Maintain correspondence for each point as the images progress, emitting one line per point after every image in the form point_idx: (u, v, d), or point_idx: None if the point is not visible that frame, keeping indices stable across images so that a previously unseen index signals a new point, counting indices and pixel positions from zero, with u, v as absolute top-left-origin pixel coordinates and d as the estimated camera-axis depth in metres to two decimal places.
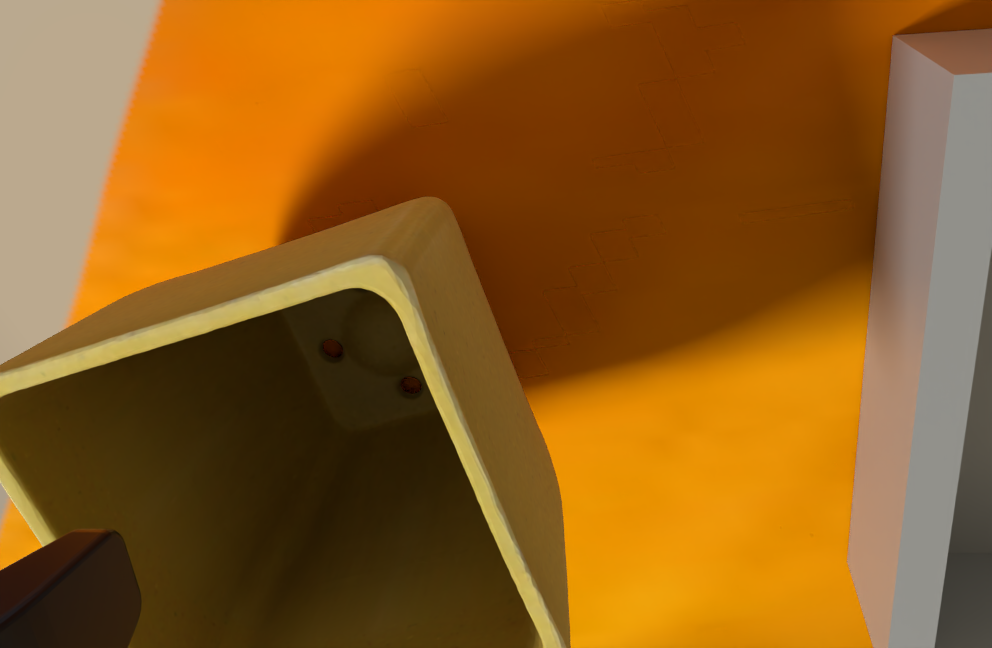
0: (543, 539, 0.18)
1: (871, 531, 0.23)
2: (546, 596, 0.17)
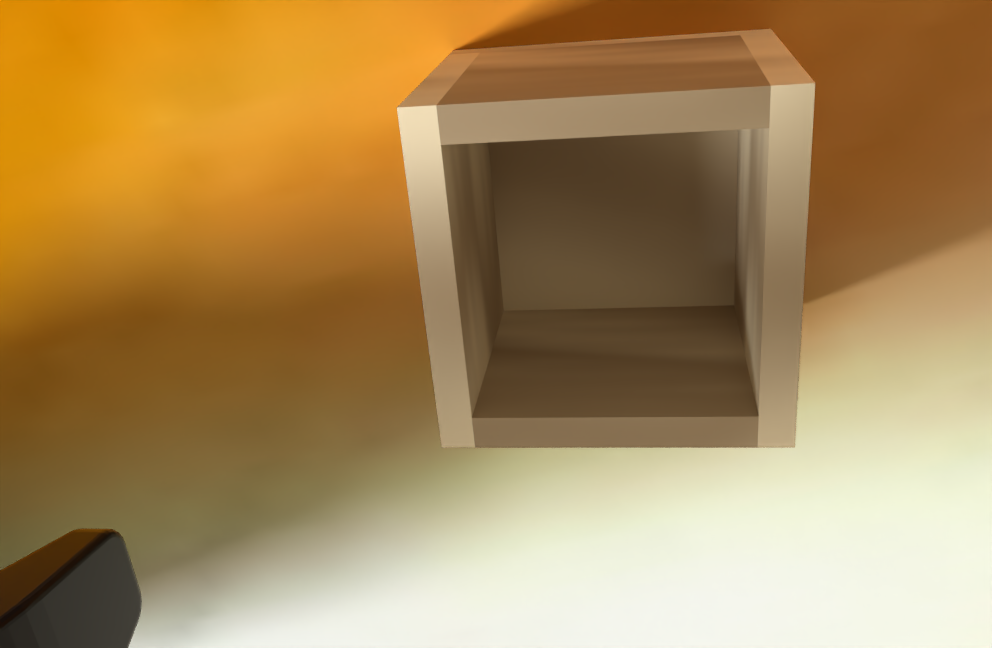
0: None
1: None
2: None
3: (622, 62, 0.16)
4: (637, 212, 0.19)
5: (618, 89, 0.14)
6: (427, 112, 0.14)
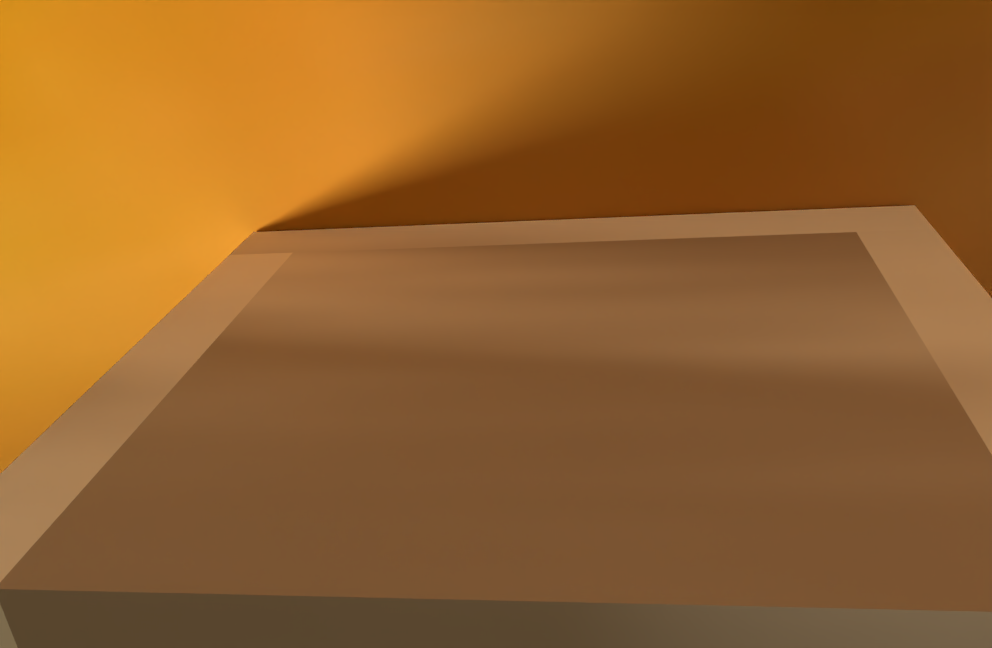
0: None
1: None
2: None
3: (587, 344, 0.06)
4: None
5: (560, 543, 0.04)
6: None
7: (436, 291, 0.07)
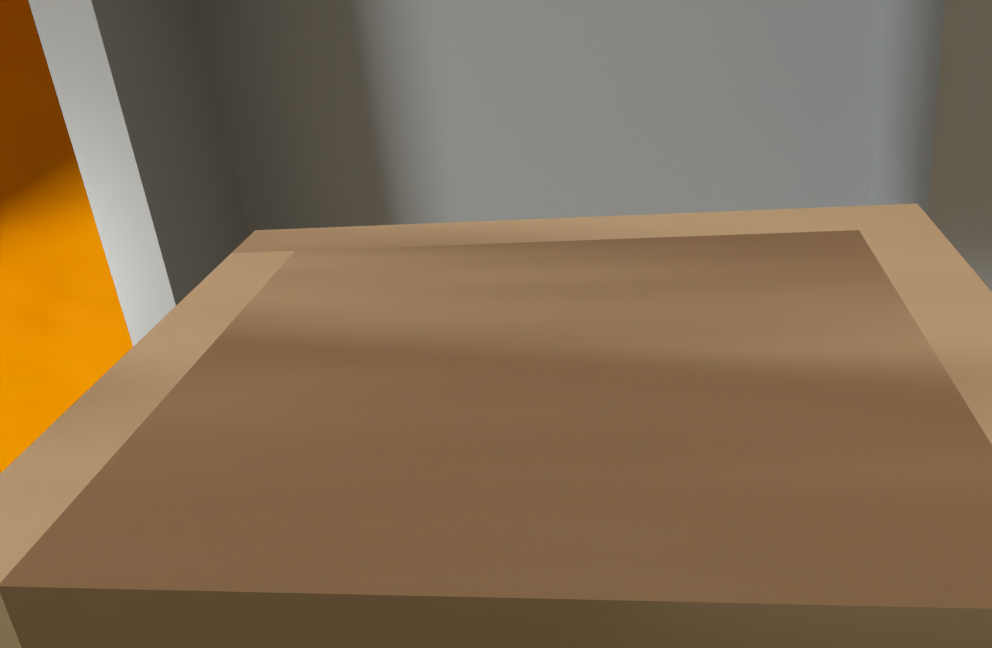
0: None
1: None
2: None
3: (590, 342, 0.06)
4: None
5: (565, 541, 0.04)
6: None
7: (438, 289, 0.07)
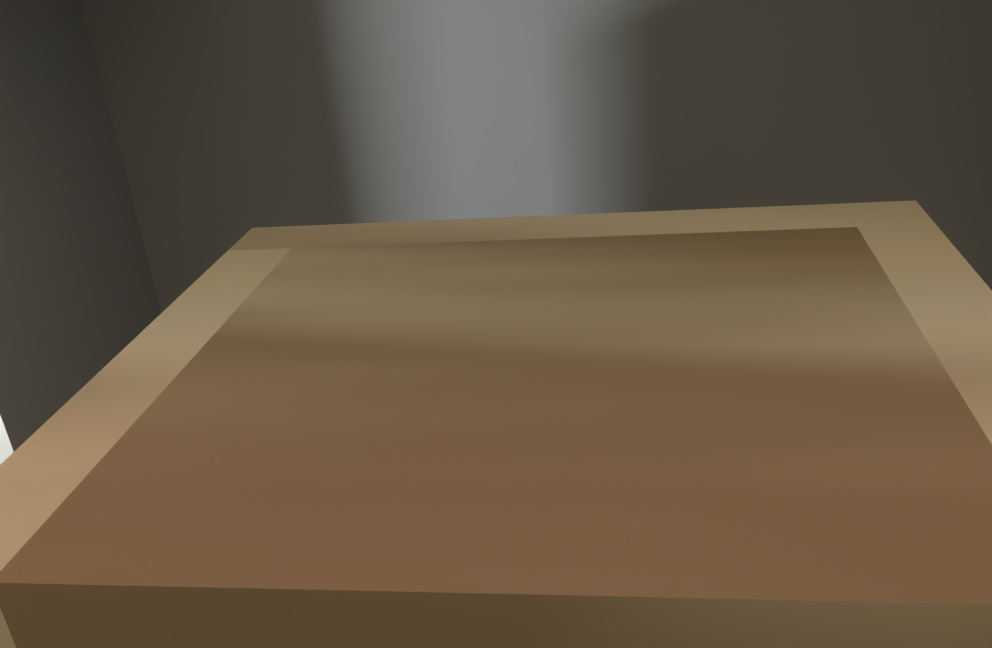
0: None
1: None
2: None
3: (586, 338, 0.06)
4: None
5: (559, 536, 0.04)
6: None
7: (435, 286, 0.07)
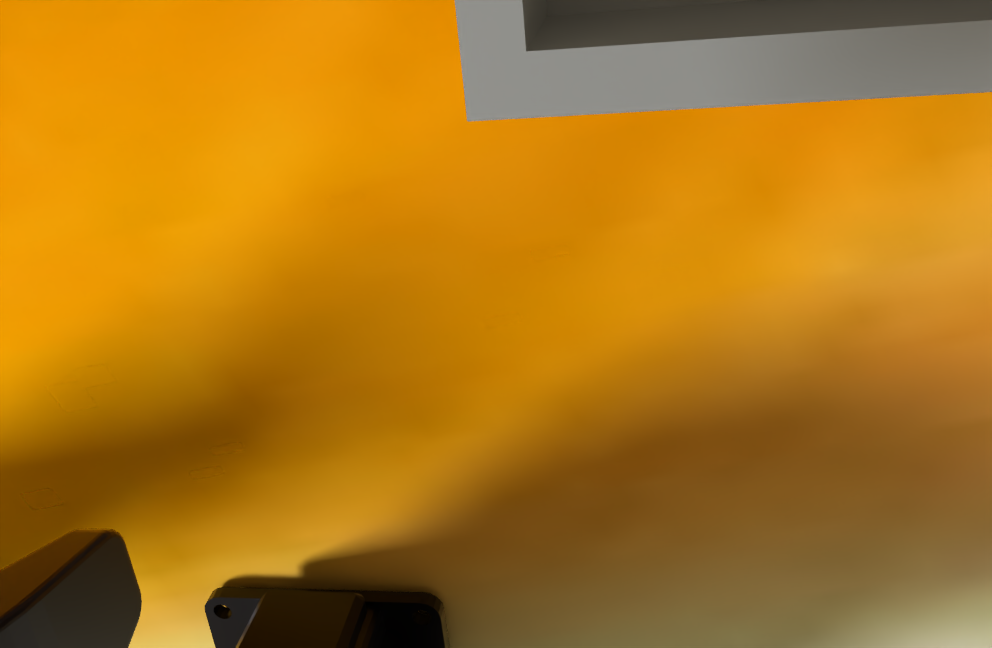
0: None
1: None
2: None
3: None
4: None
5: None
6: None
7: None
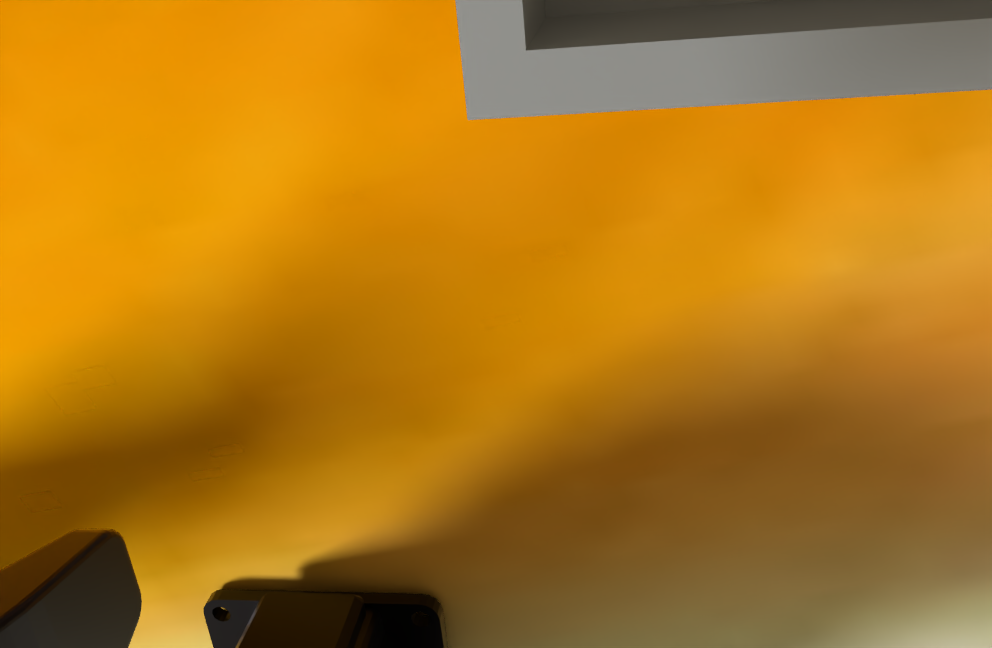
0: None
1: None
2: None
3: None
4: None
5: None
6: None
7: None
